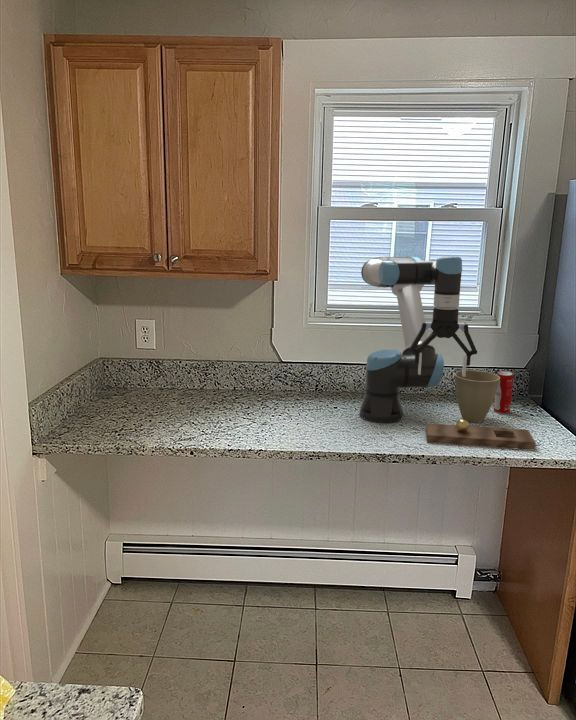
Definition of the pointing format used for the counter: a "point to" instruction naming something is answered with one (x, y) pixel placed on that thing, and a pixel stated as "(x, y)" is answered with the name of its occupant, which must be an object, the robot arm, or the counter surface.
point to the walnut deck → (480, 436)
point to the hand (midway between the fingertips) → (441, 374)
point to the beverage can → (503, 393)
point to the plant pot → (475, 393)
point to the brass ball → (462, 425)
